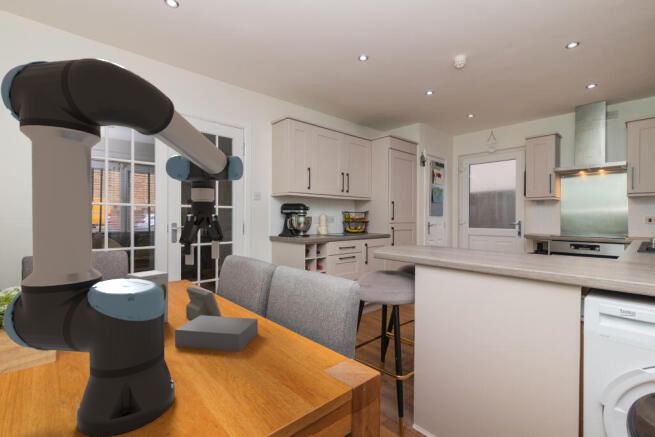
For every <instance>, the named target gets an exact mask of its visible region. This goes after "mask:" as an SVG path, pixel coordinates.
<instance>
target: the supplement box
mask: <svg viewBox="0 0 655 437" xmlns="http://www.w3.org/2000/svg"><path fill="white" fill-rule="evenodd" d="M126 279H142V280H148V281H152V282H154V283H157V284H158V285H159V286H160V287H161V288H162V290H163V294H164V303H165V317H164V324H166V323H168V322H169V272H165V271H160V270H155V269H153V270H148V271H140V272H139V271H138V272H134V273H126Z"/></svg>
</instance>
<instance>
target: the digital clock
mask: <svg viewBox="0 0 655 437" xmlns="http://www.w3.org/2000/svg"><path fill="white" fill-rule="evenodd" d="M186 292H187V295H188V298H189V300H190V301H189V302H188V304H187V305H186V306H185V308H186V309H185V312H186V313H185V314H186V318H187V319H188V320H190V321H191V320H193V319H195V318H197V317H199V316H200V315H204V316H220V317H223V315H222V312H221V310H220V307H219V305H218V302H217V299H216V296H215V294H214V292H213V291H211V290H209V289H205V288H203V287H199V286H197V285H188V286H187V288H186Z"/></svg>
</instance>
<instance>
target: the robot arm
mask: <svg viewBox="0 0 655 437" xmlns="http://www.w3.org/2000/svg"><path fill="white" fill-rule="evenodd" d="M0 95H1V100H2V103H3V104H4V106H5V109H8V111H10V115H11V116H12V117H13V118H14V119H15V120H16V121H18V122H19V124H18V125H19V131H20V132H21V133H22V134H23V135H24V136H25V137H26V138H28V139H29V140H30V141H31V207H32V209H31V210H32V211H31V213H32V214H31V216H32V217H31V222H32V224H31V226H32V230H31V231H32V272H31V273H30V274H28V276H27V277H25V278H24V279H22V280H21V283H20V284H21V285H20V289H21V290H20V292H18V293H17V294H15V295H14V296H13V297H12V300H13V301H12V302H11V303H8V304H7V305H6V308H5V310H4V314H3V327H4V331H5V333H6V335H7V336H8V338H9V339H10V340H11V341H12V342H13V343H15V344H17V345H19V346H21V347H24V348H27V349H28V348H30V349H34V350H37V351H42V352H44V351H61V352H78V353H89V376H88V379H87V380H88V381H87V382H86V386H85V389H84V391H83V394H82V398H81V401H80V404H79V405H78V407H77V410H76V428H77V429H78V431H79V432H81V433H82V434H84V435H85V436H89V437H90V436H91V437H108V436H115V435H120V434H123V433H127V432H130V431H133V430H136V429H138V428H141V427H143V426H144V425H147V424H149V423H150V422H152V421H154V420H156V419H157V418H159V417H160V416H161V415H163V413H165V412H166V411H167V410H168V409H169V408H170V407H171V405H172V404H173V402H174V400H175V397H176V395H175V394H176V392H175V390H176V389H175V388H176V387H175V381H174V380H173V378H172V376H171V372H170V369H169V367H168V364H167V361H166V359H165V323H164V317H165V303H164V294H163V290H162V288H161V287H160V286H159V285H158V284H157V283H154V282H152V281H148V280H142V279H127V278H115V279H107V280H104V281H103V280H102V273H101V272H100V271H98V269H96V268H95V267H94V266H93V212H92V210H93V209H92V208H93V205H92V204H93V202H92V201H93V199H92V198H93V195H92V193H93V191H92V184H93V183H92V179H93V178H92V148H93V147H94V146H96V145H97V144H99V143H100V142H101V138H102V134H101V132H102V131H101V128H102V127H109V126H113V127H114V126H117V127H123V128H124V127H125V128H129V129H132V130H134V131H136V132H138V133H139V134H141V135H142V136H148V137H153V138H155V139H156V140H158V141H160V142H161V143H163V144H164V145H165V146H167V147H169V148H170V149H172V150H173V151H175V152H176V153H178V154H179V155H178V154H176V155H171V156H170V157H169V158H168V159H167V161H166V163H165V172H166V173H167V176H168V177H170V178H171V179H173V180H175V181H176V180H177V181H178V182H188V183H190V188H191V196H190V197H191V200H192V201H191V202H190V204H191V205H190V207H191V208H190V209H191V213H193V214H187V215H185V223H184V226H183V228H182V231H181V234H180V237H179V239H178V243H179V244H181V245H182V246H183V250H184V256H185V257H184V258H185V259H184V260H185V261H184V262H185V263H184V264H185V265H189V266H190V265H191V266H193V265H194V264H195V263H194V262H195V259H194V258H195V255H194V252H195V251H194V250H195V249H194V246H195V245H194V244H193V242H194V241H195V238H196V237H197V235H198V233H199V231H200V230H201V229H203V228H205V229H206V230H207V232H208V234H209V235H210V237H211V239H212V240H211V259H216V260H218V259H220V249H221V248H220V245H221V244H220V242H222V241H223V239H224V235H223V234H224V233H223V231H222V228H221V224H220V221H219V215H218V214H212V213H214V212H215V202H214V201H215V182H226V181H227V182H231V181H232V182H233V181H239V180H241V179H242V177H243V176H244V162H243V161H242V159H241V158H240V157H239V156H236V155H226V153H224V152H223V151H222V150H221V149H220V148H218V146H216V145H215V144H214V143H213V142H212V141H211V140H210V139H208V137H207V136H205V135H204V134H203V133H202V132H201V131H200V130H198V129H197V128H196V127H195V126H194V125H193V124H192V123H190V122H189V120H187V119H186V118H185V117H183V115H181V114H180V113H179V111H177V110H176V108H175V104H174V103H173V100H171V98H170V97H168V95H166V94H165V93H164V92H163V91H161V89H159V88H158V87H156V86H155V85H154V83H153V84H152V83H151V82H150V81H149V80H147V79H146V78H143V77H142V76H140V75H139V74H137V73H135V72H133V71H132V70H130V69H128V68H126V67H124V66H121V65H120V64H117V63H115V62H112V61H108V60H106V59H105V60H104V59H101V58H100V59H99V58H93V57H91V58H90V57H89V58H88V57H87V58H84V57H83V58H80V59H66V60H55V61H44V60H40V61H39V60H37V61H31V62H28V63H24V64H20V65H17V66H15V67H13V68H11V69H9V71H7V72H6V74H5V75H4V77H2V81H1V85H0Z"/></svg>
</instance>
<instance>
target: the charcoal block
mask: <svg viewBox="0 0 655 437" xmlns="http://www.w3.org/2000/svg"><path fill="white" fill-rule="evenodd" d="M258 320H259V319H258V318H250V317H249V318H248V317H233V316H222V317H220V316H204V315H200V316H199V317H197V318H195V319H193V320H191V319H190V321H188V322H186V323H184V324H183V325H181V326H179V327H178V328H175V329H174V346H175V347H178V348H179V347H180V348H191V349H204V350H214V351H215V350H216V351H227V352H241V351H242V350H243V349H244V348H245V347H246V346H247V345H249V343H250V342H251V341H252V340H254V339H255V337H256V336H258V335H259V332H258V331H259V330H258V328H259V327H258V326H259V324H258V323H259V321H258Z"/></svg>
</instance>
